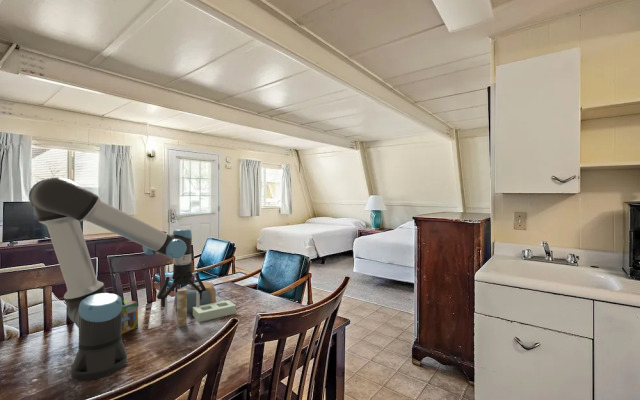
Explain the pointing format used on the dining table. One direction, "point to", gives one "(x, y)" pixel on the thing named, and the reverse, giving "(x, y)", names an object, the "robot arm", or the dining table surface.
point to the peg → (181, 307)
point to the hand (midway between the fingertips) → (182, 310)
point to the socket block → (214, 310)
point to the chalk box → (129, 315)
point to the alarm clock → (207, 295)
